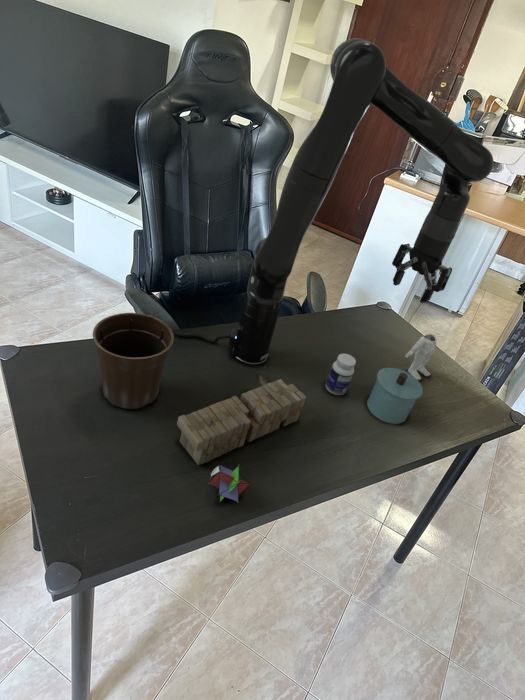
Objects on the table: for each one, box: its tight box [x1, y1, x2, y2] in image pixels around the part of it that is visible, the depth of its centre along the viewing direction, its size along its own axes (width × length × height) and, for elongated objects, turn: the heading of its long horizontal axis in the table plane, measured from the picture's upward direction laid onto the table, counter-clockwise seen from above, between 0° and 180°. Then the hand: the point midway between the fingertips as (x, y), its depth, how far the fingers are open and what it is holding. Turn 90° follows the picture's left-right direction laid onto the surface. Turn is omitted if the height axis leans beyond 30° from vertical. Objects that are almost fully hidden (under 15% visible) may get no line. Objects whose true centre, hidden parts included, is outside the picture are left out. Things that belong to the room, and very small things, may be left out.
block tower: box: [176, 378, 307, 466], centre depth 105 cm, size 8×8×29 cm
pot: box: [366, 367, 424, 425], centre depth 121 cm, size 12×12×12 cm
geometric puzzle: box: [207, 464, 251, 503], centre depth 91 cm, size 7×7×8 cm
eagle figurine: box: [255, 370, 271, 386], centre depth 115 cm, size 8×7×9 cm
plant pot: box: [92, 312, 175, 410], centre depth 105 cm, size 16×16×16 cm
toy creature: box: [405, 334, 437, 381], centre depth 138 cm, size 12×6×12 cm, turn 126°
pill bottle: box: [324, 353, 357, 396], centre depth 124 cm, size 6×6×10 cm
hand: (409, 293), depth 121 cm, fingers open, 8 cm apart
